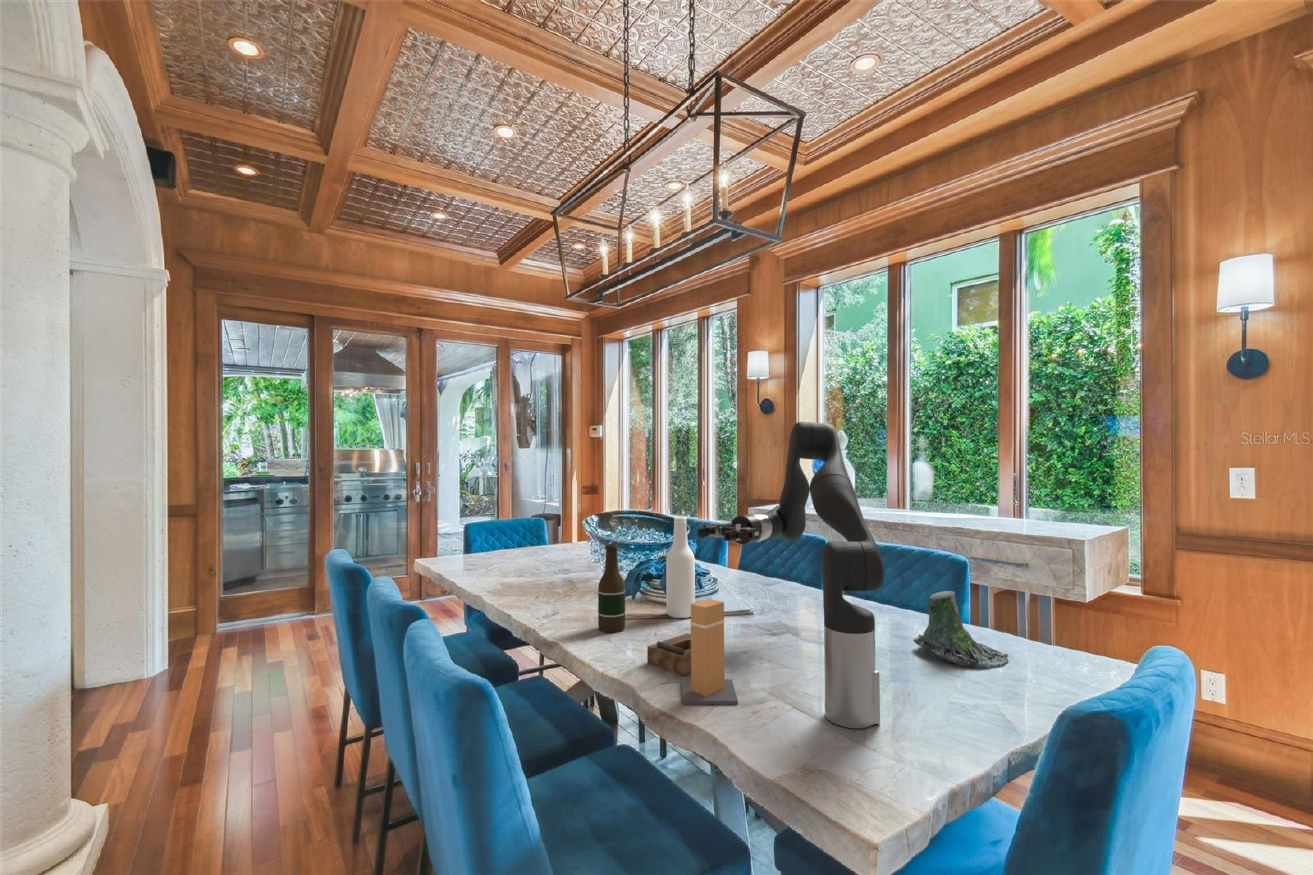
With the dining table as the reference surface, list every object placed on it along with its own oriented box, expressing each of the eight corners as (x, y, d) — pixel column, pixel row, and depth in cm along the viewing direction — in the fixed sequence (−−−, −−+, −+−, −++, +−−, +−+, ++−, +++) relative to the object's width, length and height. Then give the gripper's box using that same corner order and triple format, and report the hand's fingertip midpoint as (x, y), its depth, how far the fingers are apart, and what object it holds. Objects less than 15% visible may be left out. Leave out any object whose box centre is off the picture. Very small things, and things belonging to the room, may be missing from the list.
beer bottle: (630, 627, 171) (630, 543, 171) (615, 635, 164) (615, 547, 165) (608, 623, 175) (608, 541, 175) (592, 630, 168) (592, 545, 169)
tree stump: (1021, 675, 135) (999, 598, 135) (928, 688, 140) (907, 613, 141) (998, 645, 152) (979, 577, 153) (916, 657, 158) (898, 591, 158)
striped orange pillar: (691, 691, 124) (690, 604, 124) (710, 682, 128) (709, 598, 129) (706, 696, 121) (705, 607, 122) (724, 688, 126) (724, 602, 126)
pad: (731, 683, 130) (731, 679, 130) (737, 704, 119) (737, 700, 119) (681, 683, 130) (681, 679, 130) (682, 704, 119) (682, 700, 119)
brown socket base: (647, 663, 143) (647, 641, 143) (687, 648, 152) (687, 628, 153) (684, 676, 134) (684, 653, 134) (723, 660, 144) (723, 638, 144)
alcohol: (661, 613, 185) (661, 516, 186) (686, 610, 189) (686, 515, 190) (674, 620, 177) (673, 519, 178) (700, 617, 181) (699, 518, 182)
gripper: (730, 512, 163) (689, 517, 152) (773, 516, 153) (734, 521, 141) (730, 539, 163) (690, 546, 151) (774, 545, 153) (734, 553, 141)
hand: (711, 534), depth 146 cm, fingers open, 8 cm apart
